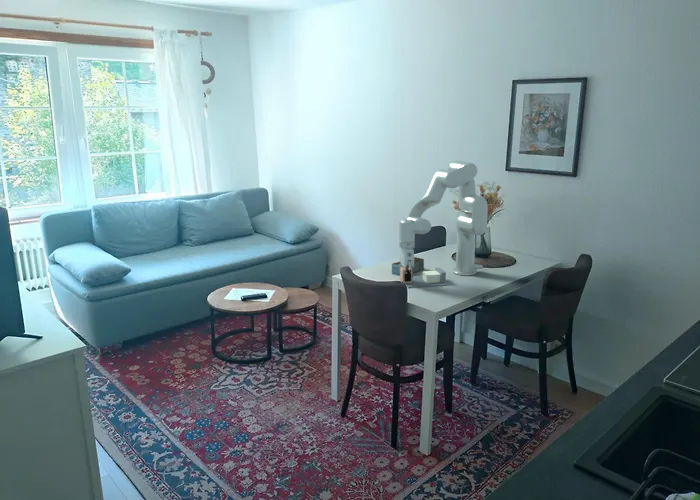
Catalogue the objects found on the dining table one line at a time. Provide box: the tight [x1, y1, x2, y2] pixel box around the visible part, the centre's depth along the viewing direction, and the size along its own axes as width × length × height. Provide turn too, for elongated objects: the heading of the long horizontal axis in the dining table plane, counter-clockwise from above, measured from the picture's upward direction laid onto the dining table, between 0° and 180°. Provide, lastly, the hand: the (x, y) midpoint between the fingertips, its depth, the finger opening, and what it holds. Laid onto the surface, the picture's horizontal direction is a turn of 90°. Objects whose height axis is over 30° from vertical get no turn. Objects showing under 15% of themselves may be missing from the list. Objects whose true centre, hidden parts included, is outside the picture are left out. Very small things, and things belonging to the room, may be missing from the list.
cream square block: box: [422, 267, 447, 283], centre depth 270 cm, size 9×9×5 cm
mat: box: [404, 275, 448, 289], centre depth 270 cm, size 20×16×1 cm
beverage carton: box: [391, 256, 425, 277], centre depth 287 cm, size 8×19×7 cm, turn 135°
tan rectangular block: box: [399, 267, 414, 284], centre depth 267 cm, size 5×5×7 cm
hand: (406, 279), depth 268 cm, fingers closed on tan rectangular block, 5 cm apart
